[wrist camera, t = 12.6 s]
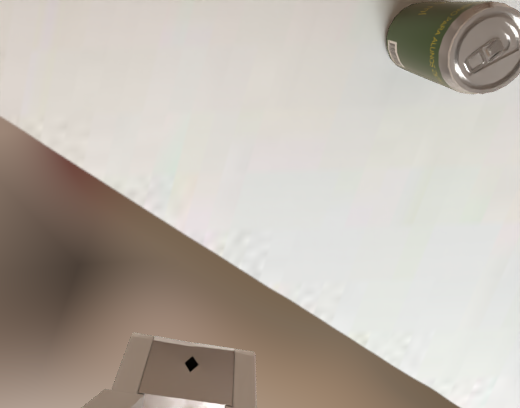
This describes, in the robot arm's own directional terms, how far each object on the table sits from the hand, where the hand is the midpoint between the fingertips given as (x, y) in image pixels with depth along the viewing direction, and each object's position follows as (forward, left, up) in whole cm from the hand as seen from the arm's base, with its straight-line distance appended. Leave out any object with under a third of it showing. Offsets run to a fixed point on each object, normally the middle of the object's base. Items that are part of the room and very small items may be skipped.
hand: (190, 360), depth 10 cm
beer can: (-14, -9, -30) cm, 35 cm away
